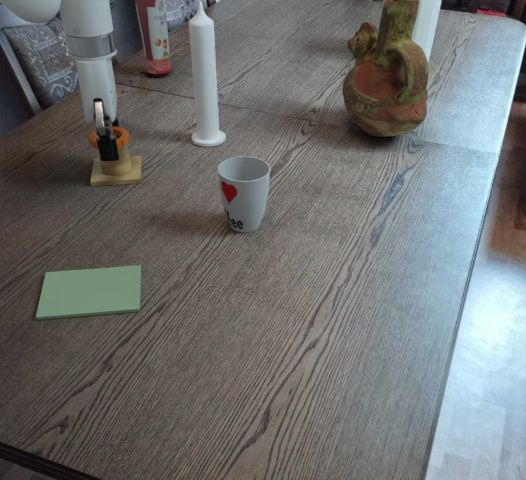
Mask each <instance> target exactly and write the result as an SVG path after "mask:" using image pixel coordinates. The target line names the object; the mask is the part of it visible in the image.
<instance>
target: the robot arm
mask: <svg viewBox="0 0 526 480" xmlns="http://www.w3.org/2000/svg"><path fill="white" fill-rule="evenodd" d="M0 3H1V4H2V5H3V6H4V8H6V9H7V10H9V11H10V12H11V13H13V14H14V15H15V16H16V17H18V18H19V19H21V20H23V21H24V22H27V23H31V24H37V25H39V24H44V23H48V22H50V21H52V19H54V18H55V17H56V16H57V15H58V13H60V18H61V23H62V27H63V32H64V37H65V42H66V46H67V51H68V54H69V57H70V58H71V59H73V60H75V62H76V63H75V64H76V72H77V79H78V85H79V91H80V97H81V102H82V109H83V114H84V115H83V116H84V118H85V119H84V120H85V122H86V123H87V124H89V125H90V124H91V123H93V122H94V127H95V130H96V136H97V144H98V149H97V150H98V153H99V154H100V159H101V161H118V160H119V153H118V148H117V142H116V138H117V139H118V138H119V137H120V136H116V137H114V134H113V126H114V127H120V123H119V118H117V108H118V96H117V95H118V94H117V87H116V79H115V74H114V73H115V72H114V67H113V62H112V58H113V57H114V56H116V55H117V53H118V50H117V43H116V36H115V30H114V24H113V17H112V12H111V5H110V0H0ZM107 126H109V130H108V128H106V127H107Z"/></svg>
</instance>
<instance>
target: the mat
mask: <svg viewBox="0 0 526 480" xmlns="http://www.w3.org/2000/svg"><path fill="white" fill-rule="evenodd" d="M42 283H43V284H42V287H41V292H40V296H39V301H38V305H37V310H36V314H35V319H36V321H43V320H44V321H45V320H56V319H57V320H58V319H69V318H81V317H91V316H92V317H93V316H104V315H116V314H128V313H129V314H130V313H140V312H141V294H142V293H141V292H142V290H141V289H142V265H141V264H138V265H137V264H135V265H124V266H123V265H122V266H111V267H97V268H86V269H85V268H84V269H71V270H70V269H69V270H59V271H58V270H57V271H56V270H55V271H46V272H45V273H44V278H43V282H42Z"/></svg>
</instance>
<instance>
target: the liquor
mask: <svg viewBox="0 0 526 480" xmlns="http://www.w3.org/2000/svg"><path fill="white" fill-rule="evenodd" d="M134 4H135V9H136V14H137V20H138V24H139V25H138V26H139V30H140V36H141V43H142V48H143V54H144V61H145V67H144V71H145V72H146V73H147V74H149V75H150V76H151V77H154V78H164V77H167V76H168V75H169V74H170V73H171V71H172V70H173V66H172V64H171V58H170V57H171V55H170V45H169V32H168V30H169V29H168V12H167V9H168V8H167V0H134Z"/></svg>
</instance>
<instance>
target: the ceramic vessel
mask: <svg viewBox="0 0 526 480" xmlns="http://www.w3.org/2000/svg"><path fill="white" fill-rule="evenodd" d="M382 6H383V10H382V9H381V12H382V15H381V14H380V19H381V20H380V19H379V26H378V28H377V26H376V25H375V24H374V23H373V22H371V21H364V22H362V23H361V24H360V26H359V29H358V30H356V31H355V33H354V36H352V37H351V38H349V39H348V40H347V42H346V47H347V49H348V50H349V52H350V53H351V55H353V58H354V61H355V64H354V66H353V67H352V68H351V69H349V71H348V72H347V74H346V76H345V77H344V80H343V83H342V96H343V103H344V106H345V109H346V113H347V114H348V115H349V117H350V118H351V120H353V122H354V123H355V124H356V125H357V126H359V128H360V129H361V130H362V131H363V132H364V133H366V134H368V135H370V136H371V137H372V136H373V137H377V138H378V137H385V138H386V137H394V136H395V137H396V136H399V135H404V134H406V133H410V132H411V131H413V130H415V129H416V128H418V127H419V126H421V125H422V124H423V123H424V122H425V120H426V118H427V116H428V115H427V114H428V106H427V100H428V98H429V97H428V95H429V94H428V89H427V86H428V82H429V81H428V80H429V63H428V61H427V58H426V56H425V53H424V52H423V50H422V48H421V47H420V46H419V45H417V44H416V43H414V42H413V41H412V33H413V29H414V25H415V22H416V18H417V13H418V7H419V0H385V1H384V4H383V3H382Z"/></svg>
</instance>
